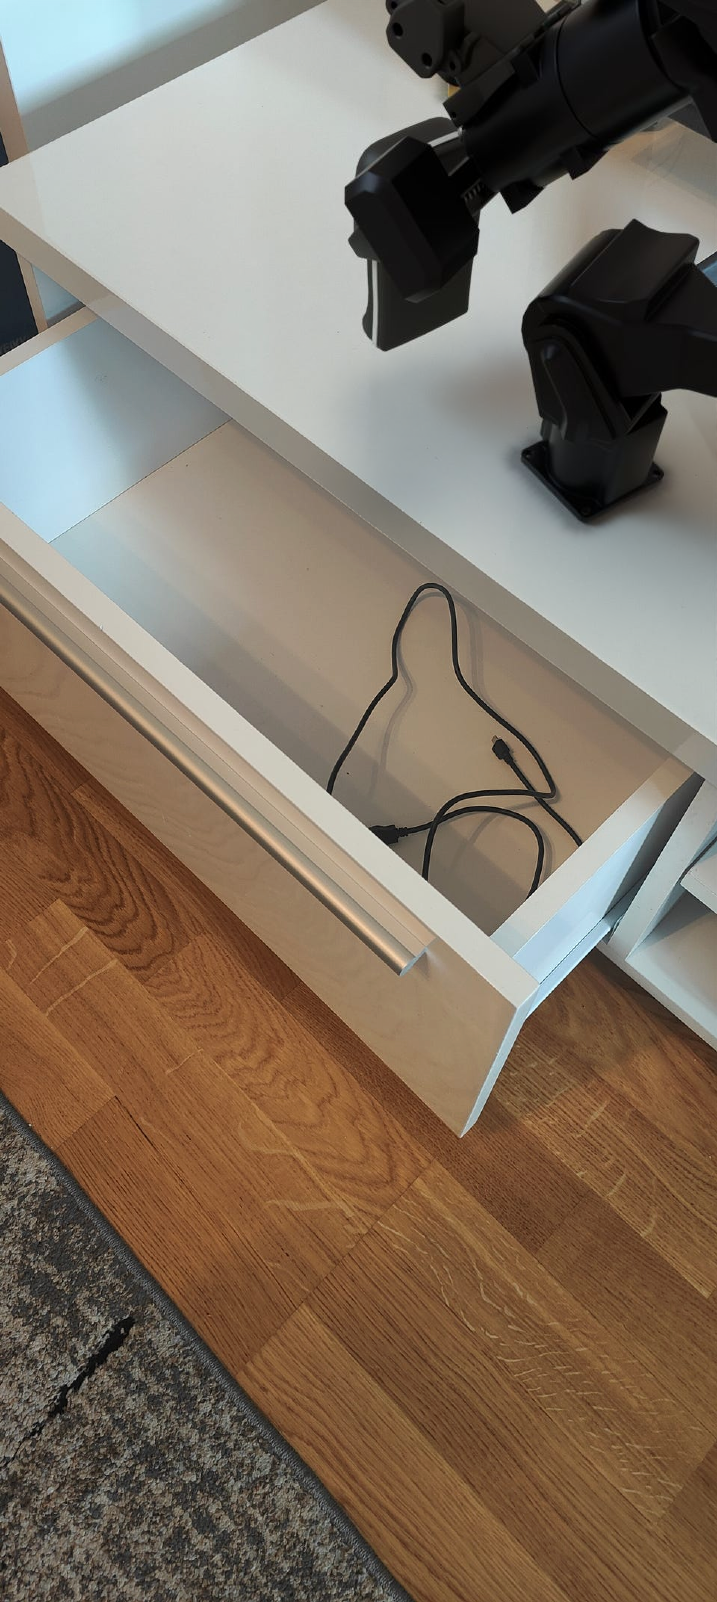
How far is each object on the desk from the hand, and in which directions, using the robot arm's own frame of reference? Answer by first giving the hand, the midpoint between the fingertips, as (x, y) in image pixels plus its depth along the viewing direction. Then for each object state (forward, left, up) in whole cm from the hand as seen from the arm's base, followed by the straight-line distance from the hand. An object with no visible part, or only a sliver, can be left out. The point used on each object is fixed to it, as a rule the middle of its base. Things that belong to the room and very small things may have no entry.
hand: (392, 211), depth 64 cm
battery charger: (-1, -1, -7) cm, 7 cm away
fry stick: (+25, -24, -11) cm, 36 cm away
